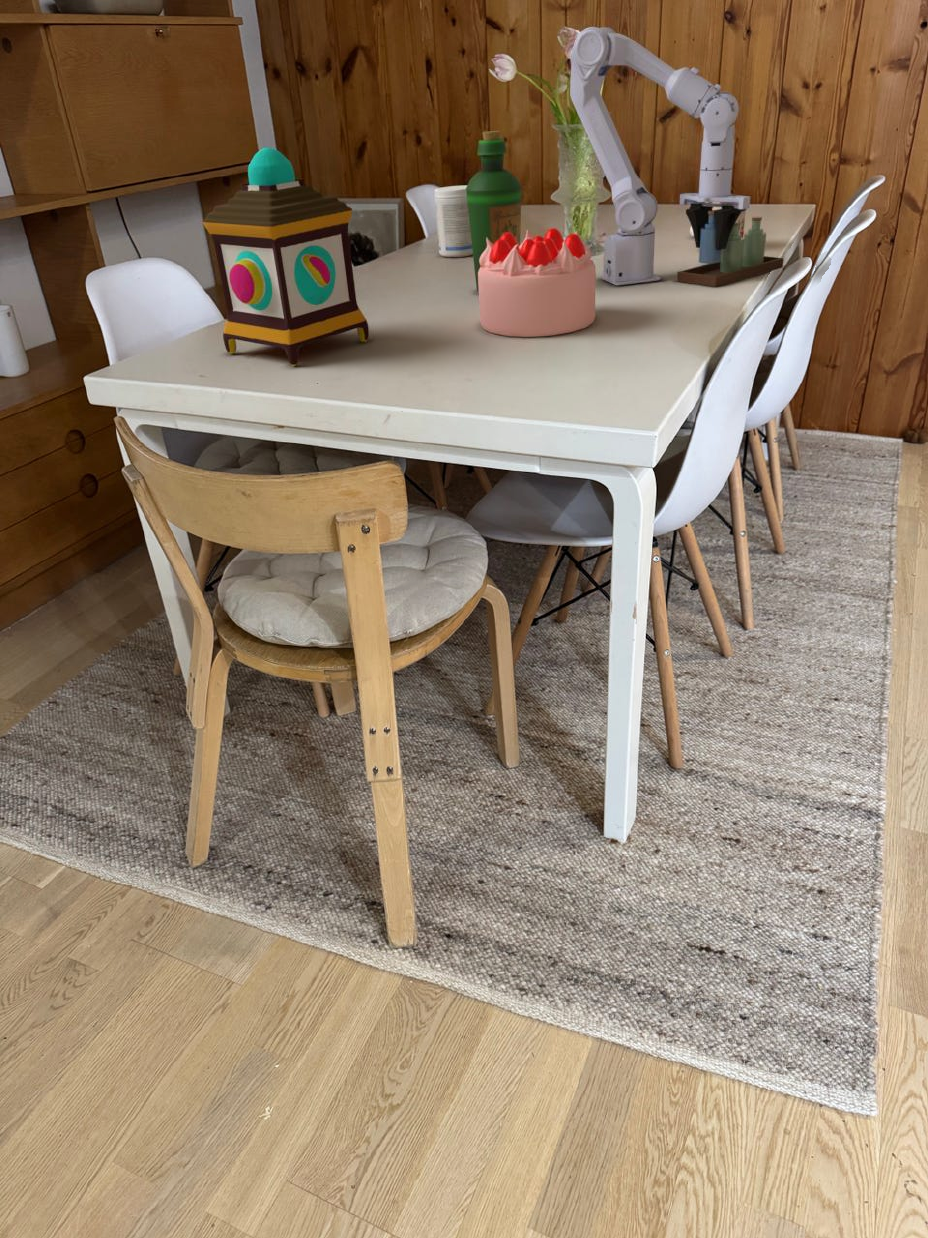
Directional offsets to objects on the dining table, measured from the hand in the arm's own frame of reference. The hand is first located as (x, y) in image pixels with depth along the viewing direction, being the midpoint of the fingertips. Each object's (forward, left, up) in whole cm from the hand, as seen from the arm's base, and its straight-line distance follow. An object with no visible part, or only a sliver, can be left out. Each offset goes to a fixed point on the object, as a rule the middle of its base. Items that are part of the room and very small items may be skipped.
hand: (710, 247), depth 172 cm
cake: (-40, -15, -6) cm, 43 cm away
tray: (+6, +3, -6) cm, 9 cm away
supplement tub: (-36, +59, -6) cm, 69 cm away
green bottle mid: (+6, +3, -5) cm, 9 cm away
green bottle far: (+13, +6, -5) cm, 15 cm away
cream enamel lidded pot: (+18, +29, -6) cm, 34 cm away
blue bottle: (0, 0, -2) cm, 2 cm away
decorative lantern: (-81, -11, -6) cm, 82 cm away
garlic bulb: (+21, +45, -6) cm, 50 cm away
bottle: (-39, +14, -6) cm, 41 cm away
